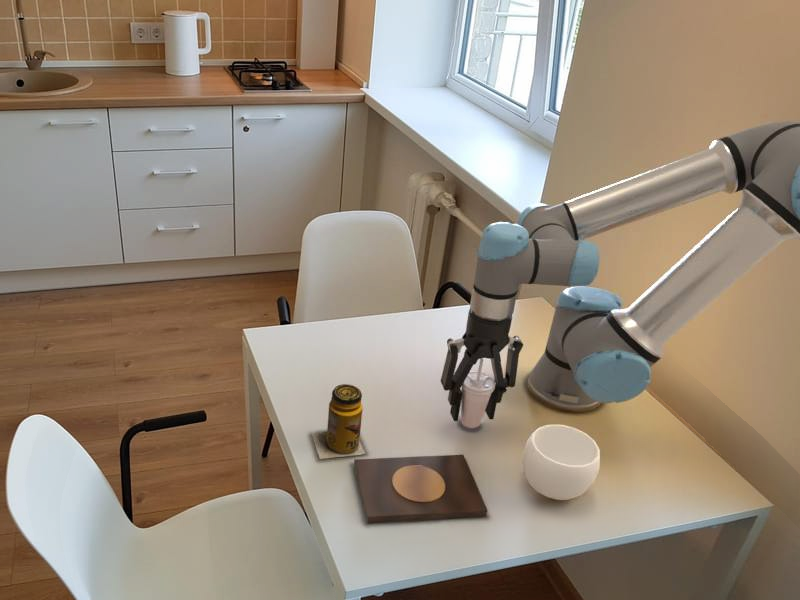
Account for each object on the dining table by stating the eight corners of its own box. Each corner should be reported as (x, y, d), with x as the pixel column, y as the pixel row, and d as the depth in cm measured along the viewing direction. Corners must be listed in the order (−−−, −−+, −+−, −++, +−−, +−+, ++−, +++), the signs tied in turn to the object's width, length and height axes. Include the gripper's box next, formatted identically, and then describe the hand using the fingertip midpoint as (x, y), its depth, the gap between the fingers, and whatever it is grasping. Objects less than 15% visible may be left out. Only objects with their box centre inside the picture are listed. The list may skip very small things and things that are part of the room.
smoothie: (485, 413, 142) (498, 353, 134) (488, 433, 137) (501, 372, 129) (453, 410, 143) (463, 350, 135) (454, 430, 137) (465, 369, 129)
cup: (603, 506, 123) (618, 463, 118) (538, 518, 120) (551, 474, 115) (565, 459, 133) (577, 417, 128) (504, 468, 130) (514, 426, 125)
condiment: (365, 454, 131) (370, 401, 125) (319, 459, 130) (323, 406, 123) (354, 429, 137) (359, 377, 131) (311, 434, 136) (313, 381, 129)
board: (462, 460, 131) (463, 453, 130) (486, 516, 120) (487, 509, 119) (353, 465, 129) (354, 458, 128) (367, 523, 117) (368, 516, 116)
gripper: (535, 299, 130) (513, 402, 143) (431, 302, 128) (418, 406, 141) (552, 320, 124) (526, 425, 137) (442, 324, 122) (427, 431, 135)
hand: (471, 415), depth 139 cm, fingers closed on smoothie, 6 cm apart
